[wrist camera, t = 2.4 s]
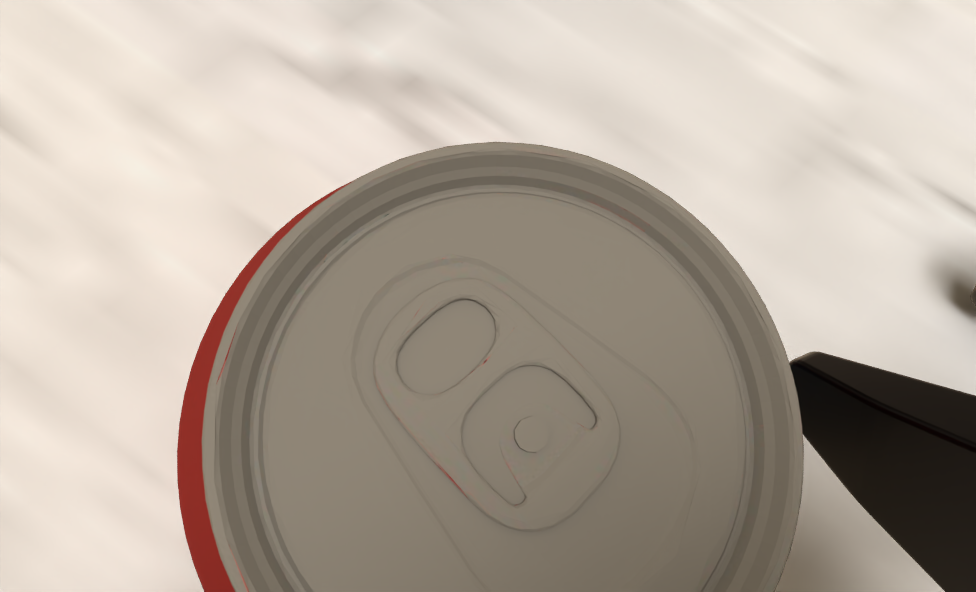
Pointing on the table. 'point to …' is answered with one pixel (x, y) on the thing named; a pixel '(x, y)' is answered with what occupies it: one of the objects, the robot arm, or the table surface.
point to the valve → (973, 296)
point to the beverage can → (491, 393)
